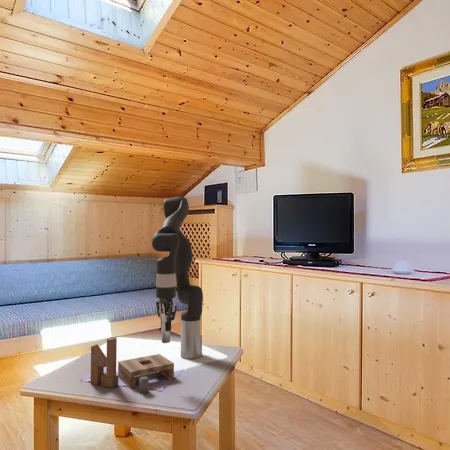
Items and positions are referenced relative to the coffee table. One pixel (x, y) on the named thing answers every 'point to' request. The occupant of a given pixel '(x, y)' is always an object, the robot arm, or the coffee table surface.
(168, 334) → the long pin
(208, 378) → the coffee table surface
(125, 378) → the brown block with hole
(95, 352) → the brown angled frame
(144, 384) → the short pin
